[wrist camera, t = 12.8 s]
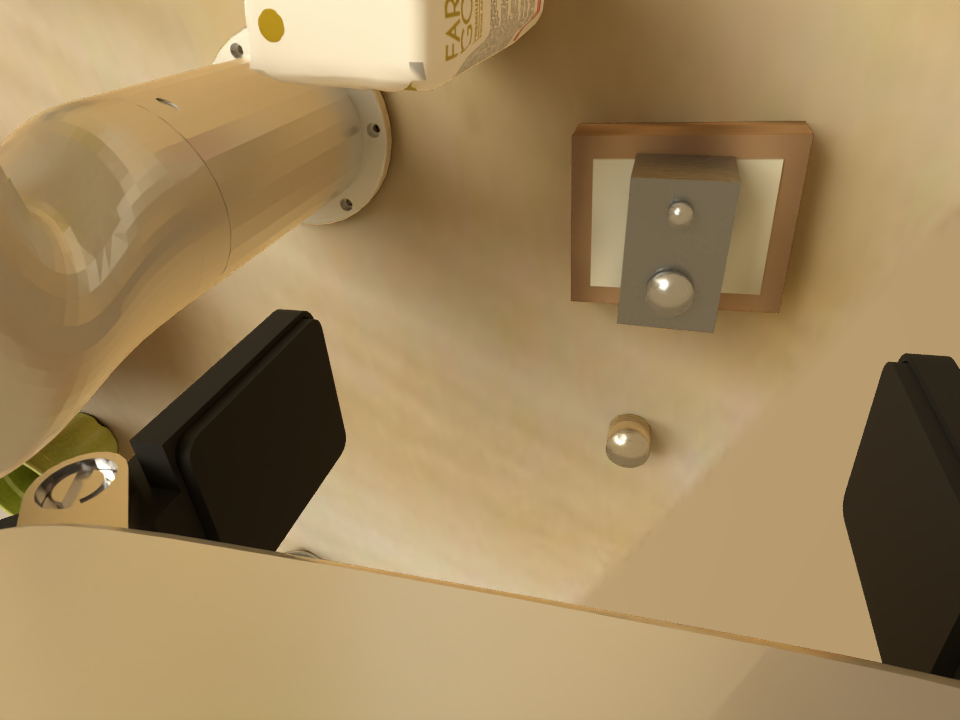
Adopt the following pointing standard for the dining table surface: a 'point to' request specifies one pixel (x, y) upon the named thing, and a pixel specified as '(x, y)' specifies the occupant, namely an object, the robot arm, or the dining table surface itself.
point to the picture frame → (759, 214)
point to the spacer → (628, 441)
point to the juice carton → (381, 39)
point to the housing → (677, 240)
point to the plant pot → (55, 457)
